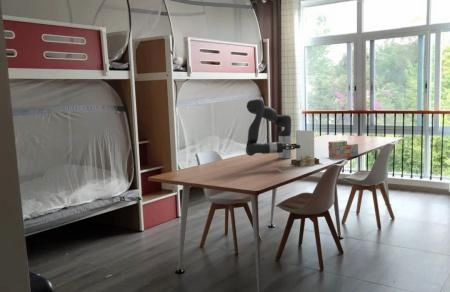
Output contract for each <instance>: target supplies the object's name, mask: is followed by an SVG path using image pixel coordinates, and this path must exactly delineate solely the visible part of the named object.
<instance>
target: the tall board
mask: <svg viewBox="0 0 450 292" xmlns="http://www.w3.org/2000/svg"><path fill="white" fill-rule="evenodd" d="M295 143H296V145H300V148H297V149H295V151H296V153H295V154H296V157H295V159H296V160H301V156H312V158H313V159H314V158H315V131H314V130H300V129H299V130H297V129H296V131H295Z"/></svg>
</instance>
